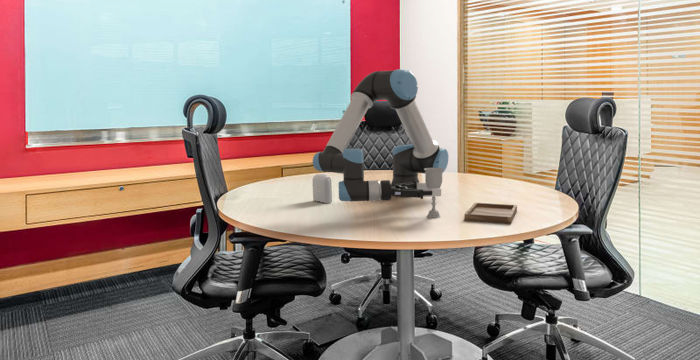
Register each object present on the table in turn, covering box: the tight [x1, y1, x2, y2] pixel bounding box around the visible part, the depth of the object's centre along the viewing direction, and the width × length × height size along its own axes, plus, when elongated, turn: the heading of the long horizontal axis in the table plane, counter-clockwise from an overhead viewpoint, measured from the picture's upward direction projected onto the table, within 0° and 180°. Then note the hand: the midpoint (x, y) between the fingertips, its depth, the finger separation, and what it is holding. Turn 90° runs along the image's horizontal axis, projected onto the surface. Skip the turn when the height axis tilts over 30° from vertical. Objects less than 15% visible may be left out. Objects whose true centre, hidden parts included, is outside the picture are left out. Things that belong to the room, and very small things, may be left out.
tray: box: [463, 202, 518, 225], centre depth 189 cm, size 22×16×2 cm
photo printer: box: [311, 173, 333, 204], centre depth 221 cm, size 10×4×12 cm, turn 39°
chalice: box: [424, 168, 444, 219], centre depth 188 cm, size 7×7×18 cm
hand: (437, 189), depth 188 cm, fingers open, 13 cm apart
